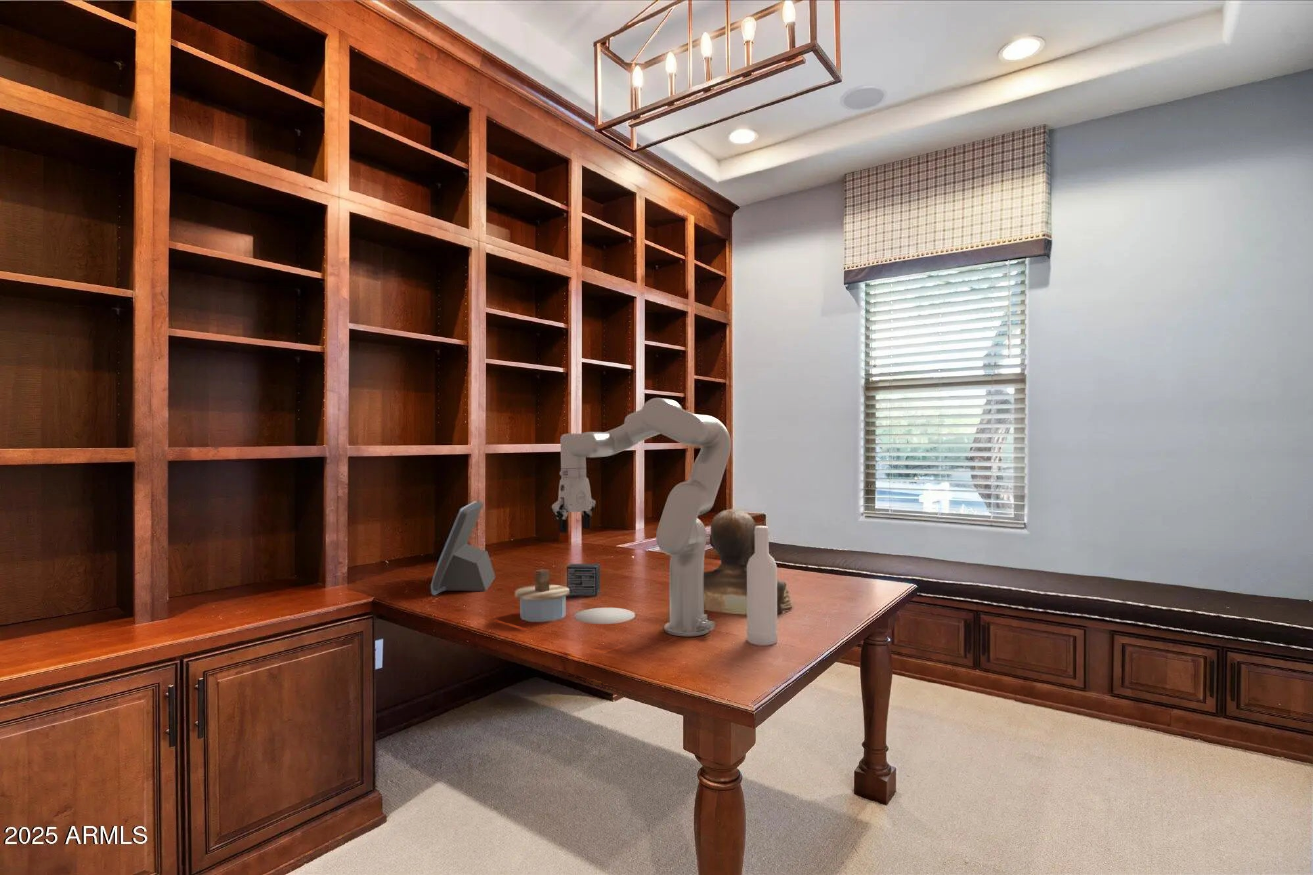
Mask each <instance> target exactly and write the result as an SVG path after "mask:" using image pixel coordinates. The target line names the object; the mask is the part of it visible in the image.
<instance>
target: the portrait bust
mask: <svg viewBox="0 0 1313 875" xmlns="http://www.w3.org/2000/svg"><path fill="white" fill-rule="evenodd" d="M756 526H757V525H756V522H755V520H754V518H752V516H751V515H750V514H748V513H747V512H746V511H743V510H740V509H735V508H729V509H726V510H725V509H724V510H722V511H720V512H719V513H717V514H716V515H715V516H714V517H713V519H712V520H711V524H710V536H709V544H710V546H711V548H712V549H714V550H715V551H716V552H717V554H718V555H719V557H720V565H719V566H718V567H717V568H715V569H713V570H709V571H708V570H707V571H704V611H707V610H708V611H709V612H716V613H725V614H734V615H745V614H747V564H748V561H749V558H750V557H751V556H752V555H753V554H754V553H755V534H754V531H755V527H756ZM791 608H792V609H793V603H792V598H791V595H790V592H789V590H788V585H787V583H786V582H785V581H781V580H777V615H782V614H781V613H783V612H786V611H787V610H789V611H790V609H791ZM792 609H791V610H792ZM787 612H788V611H787ZM787 612H786V613H787ZM783 614H784V613H783Z"/></svg>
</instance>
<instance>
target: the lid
mask: <svg viewBox="0 0 1313 875" xmlns="http://www.w3.org/2000/svg"><path fill="white" fill-rule="evenodd" d="M567 595H569V588H567V586H564V585H557V584H550V570H549V569H544V568H541V569H537V570H534V585H528V586H523V587H520V588H517V589H515V591H514V597H515V598H517V599H519V600H520V599H523V600H535V601H540V600H552V599H558V598H562V597H565V596H566V597H567Z"/></svg>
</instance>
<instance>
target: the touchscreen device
mask: <svg viewBox="0 0 1313 875" xmlns="http://www.w3.org/2000/svg"><path fill="white" fill-rule="evenodd" d="M482 508H483V503H482V502H480V501H477V500H474V501H472V502H471V503H468V504H467V505H465V506H463V507H461V508H459V510H458V513H457V515H456V518H455V519H454V521H453V524H452V527H451V529H450V531H449V534H448V537H447V539H446V541H445V543H444V546H443V548H442V551H441V553H440V555H439V557H438V558H439V559H438V562H437V565H436V568H435V570H434V572H433V576H432V580H431V583H430V591H431V592H430V593H431V595H432V596H434V597H435V596H437V595H438V594H441V593H442V592H445V591H454V592H455V591H462V592H463V591H465V592H468V591H469V592H487V591H488V589H489V587H491V585H492V583H493V581H494V580H495V579H496V574H495V572H494V569H493V565H492V562H491V559H490V556H489V553H488V550H485V549H484V550H483V549H481V548H478V547H476V546H473V545H470V544H469V540H470V538H471V535H472V533H473V530H474V528H475V525H476V523H477V520H478V518H479V516H480V514H481V511H482Z"/></svg>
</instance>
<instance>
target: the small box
mask: <svg viewBox="0 0 1313 875" xmlns="http://www.w3.org/2000/svg"><path fill="white" fill-rule="evenodd" d="M566 587H567V588H569V595H567V596H566V598H580V597H598V596H599V595H600V593H601V564H600V563H570V564H568V565H567V566H566Z"/></svg>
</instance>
